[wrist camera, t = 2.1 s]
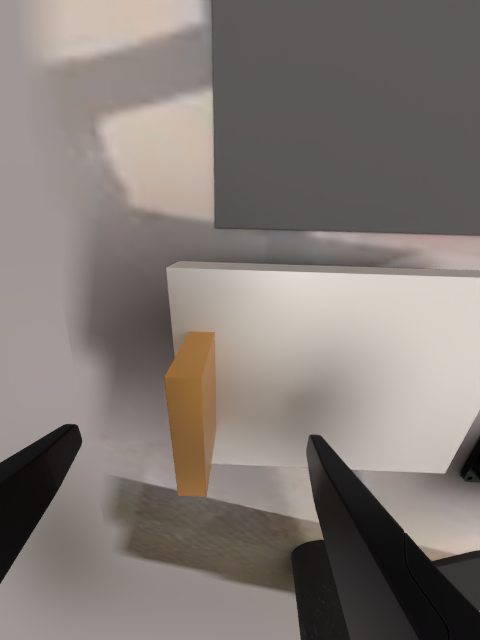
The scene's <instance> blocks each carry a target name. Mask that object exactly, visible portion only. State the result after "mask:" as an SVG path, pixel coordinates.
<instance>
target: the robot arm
mask: <svg viewBox="0 0 480 640" xmlns="http://www.w3.org/2000/svg"><path fill="white" fill-rule="evenodd" d="M81 444H82V437H81V434H80V431H79V428H78V426H77V425H75V424H65V425H63V426H61V427H59V428H58V429H56V430H54V431H53V432H51V433H49V434H48V435H46V436H44V437H43V438H41V439H39V440H38V441H36V442H34V443H33V444H31V445H29V446H28V447H26V448H24V449H23V450H21V451H19V452H17V453H16V454H14V455H13V456H11V457H9V458H7V459H6V460H4V461H2V462H1V463H0V583H1V581H2V580H3V579H4V577H5V575H6V574H7V572H8V570H9V569H10V567H11V566H12V564H13V562H14V561H15V559H16V558H17V556H18V554H19V553H20V551H21V550H22V548H23V546H24V545H25V543H26V541H27V540H28V538H29V537H30V535H31V533H32V532H33V530H34V529H35V527H36V525H37V524H38V522H39V520H40V519H41V517H42V516H43V514H44V512H45V511H46V509H47V508H48V506H49V504H50V503H51V501H52V499H53V498H54V496H55V494H56V493H57V491H58V489H59V487H60V486H61V484H62V482H63V480H64V478H65V476H66V474H67V472H68V470H69V468H70V466H71V465H72V463H73V461H74V459H75V456H76V455H77V453H78V451H79V449H80V447H81ZM306 456H307V462H308V468H309V474H310V481H311V487H312V493H313V498H314V503H315V507H316V511H317V515H318V519H319V523H320V526H321V530H322V534H323V538H324V541H325V545H326V549H327V553H328V556H329V560H330V564H331V568H332V572H333V575H334V579H335V583H336V587H337V590H338V594H339V598H340V602H341V605H342V609H343V613H344V617H345V621H346V624H347V628H348V632H349V636H350V639H351V640H480V612H479V611H478V610H477V609H476V607H475V606H474V605H473V604H472V603H471V602H470V601H469V600H468V599H467V598H466V597H465V596H464V595H463V594H462V593H461V592H460V591H459V590H458V589H457V588H456V587H455V586H454V585H453V584H452V583H451V582H450V581H449V580H448V579H447V578H446V576H445V575H444V574H443V573H442V572H441V571H440V570H439V569H438V568H437V567H436V566H435V565H434V564H433V562H432V561H431V560H430V559H429V558H428V557H427V556H426V555H425V554H424V552H423V551H422V550H421V549H420V548H419V547H418V546H417V545H416V544H415V542H414V541H413V540H412V539H411V538H410V537H409V535H408V534H407V533H404V530H403V529H402V528H401V526H400V525H399V524H398V523H397V522H396V521H395V520H394V518H393V517H392V516H391V515H390V514H389V513H388V512H387V510H386V509H385V508H384V507H383V506H382V505H381V504H380V502H379V501H378V500H377V499H376V498H375V497H374V496H373V494H372V493H371V492H370V491H369V490H368V489H367V488H366V486H365V485H364V484H363V483H362V482H361V481H360V480H359V478H358V477H357V476H356V475H355V474H354V473H353V471H352V470H351V469H350V468H349V467H348V466H347V465H346V463H345V462H344V461H343V460H342V459H341V458H340V457H339V455H338V454H337V453H336V452H335V451H334V450H333V449H332V447H331V446H330V445H329V444H328V443H327V442H326V441H325V439H324V438H323V437H322V436H321V435H316V434H310V435H309V437H308V443H307V448H306ZM460 476H461V477H462V478H463V479H464V481H466V482H480V442H479V444H478V445H477V447H476V449H475V450H474V452H473V454H472V455H471V457H470V459H469V461H468V462H467V464H466V466H465V467H464V469H463V471H462V472H461V475H460Z"/></svg>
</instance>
